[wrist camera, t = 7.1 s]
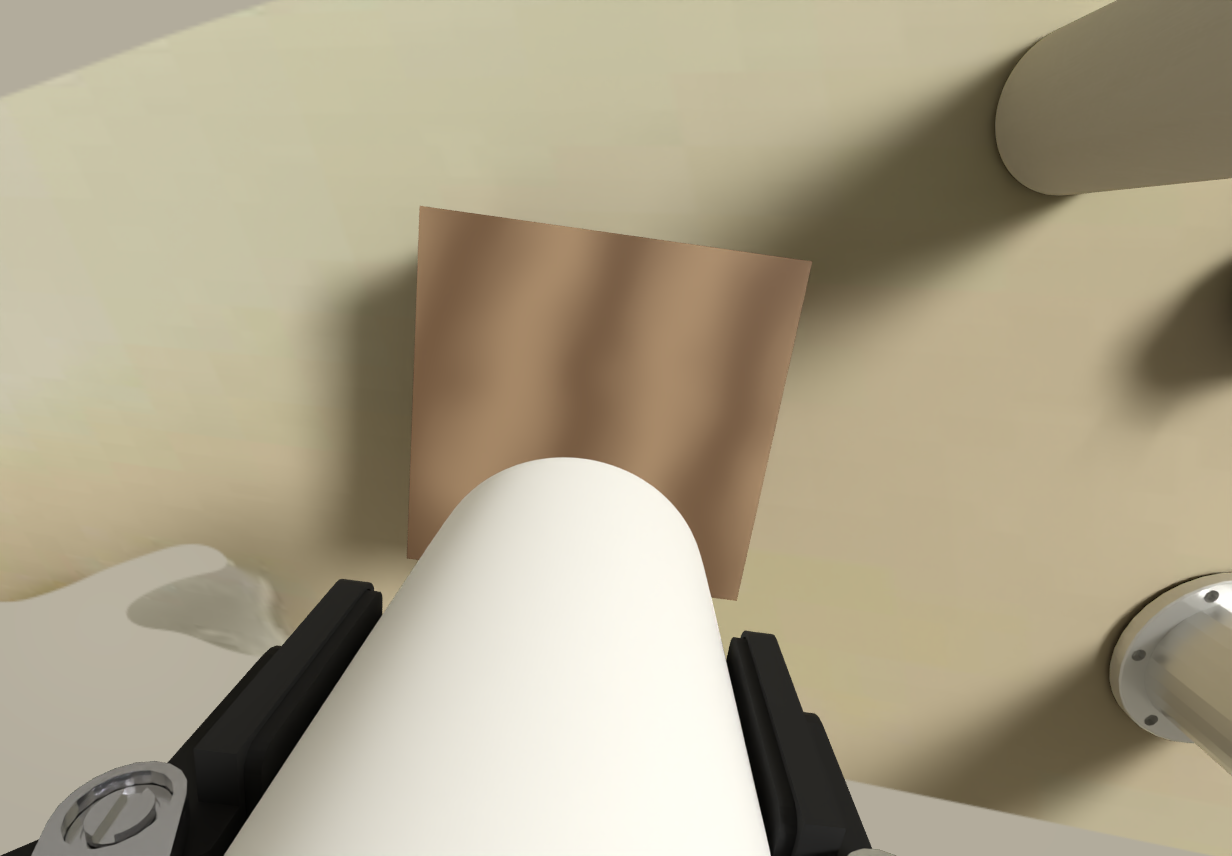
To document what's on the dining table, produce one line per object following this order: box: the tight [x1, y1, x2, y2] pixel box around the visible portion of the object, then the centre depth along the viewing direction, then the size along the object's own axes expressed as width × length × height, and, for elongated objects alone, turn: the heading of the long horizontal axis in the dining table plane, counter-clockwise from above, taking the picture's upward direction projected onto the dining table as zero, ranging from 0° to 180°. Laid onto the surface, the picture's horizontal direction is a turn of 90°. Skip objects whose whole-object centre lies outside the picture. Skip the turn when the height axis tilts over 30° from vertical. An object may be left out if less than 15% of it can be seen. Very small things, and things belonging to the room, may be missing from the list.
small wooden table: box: [407, 206, 812, 601], centre depth 31 cm, size 16×16×9 cm
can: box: [224, 457, 771, 856], centre depth 9 cm, size 6×6×12 cm
